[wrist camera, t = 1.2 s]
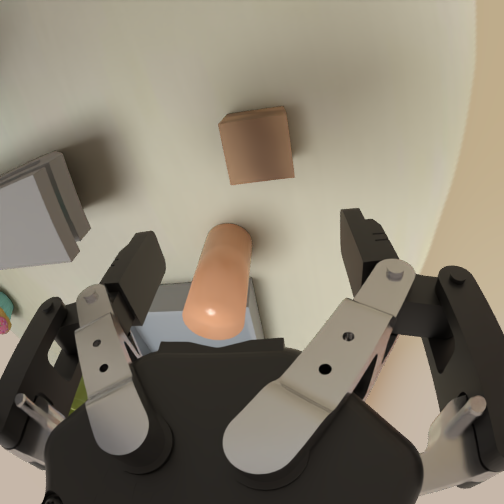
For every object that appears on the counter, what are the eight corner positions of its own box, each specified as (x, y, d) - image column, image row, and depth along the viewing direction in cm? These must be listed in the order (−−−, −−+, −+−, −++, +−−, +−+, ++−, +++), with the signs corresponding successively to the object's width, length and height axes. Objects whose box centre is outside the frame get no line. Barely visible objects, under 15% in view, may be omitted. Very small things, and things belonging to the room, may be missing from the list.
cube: (237, 165, 27) (230, 185, 23) (227, 114, 25) (218, 124, 20) (290, 158, 27) (294, 177, 23) (283, 106, 24) (286, 114, 20)
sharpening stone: (100, 133, 26) (33, 174, 17) (122, 201, 30) (71, 261, 21) (-20, 186, 29) (-68, 225, 20) (-1, 230, 33) (-42, 274, 24)
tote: (150, 351, 46) (142, 375, 42) (112, 287, 38) (98, 312, 34) (267, 350, 43) (266, 377, 39) (251, 277, 35) (248, 307, 31)
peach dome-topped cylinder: (212, 264, 34) (192, 340, 25) (201, 226, 31) (173, 299, 22) (255, 260, 33) (249, 338, 24) (248, 220, 31) (237, 295, 22)
